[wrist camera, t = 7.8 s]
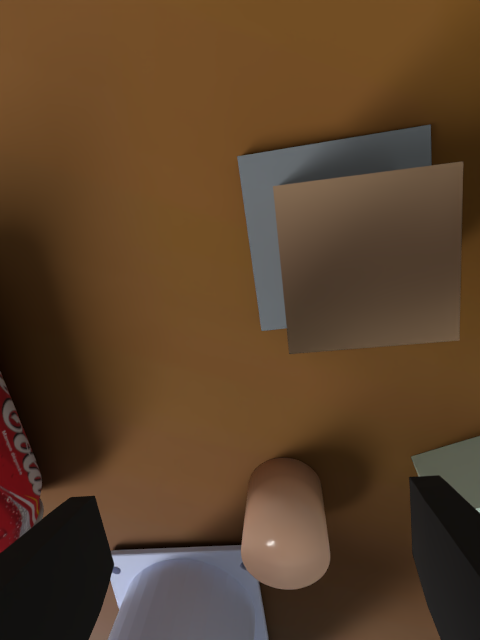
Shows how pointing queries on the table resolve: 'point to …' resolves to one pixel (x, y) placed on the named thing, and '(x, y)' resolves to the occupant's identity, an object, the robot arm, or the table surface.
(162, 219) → the table surface
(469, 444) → the pale green cube
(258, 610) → the robot arm
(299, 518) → the pinkish brown rounded cylinder
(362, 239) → the walnut block
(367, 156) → the slate coaster
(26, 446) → the soda can
